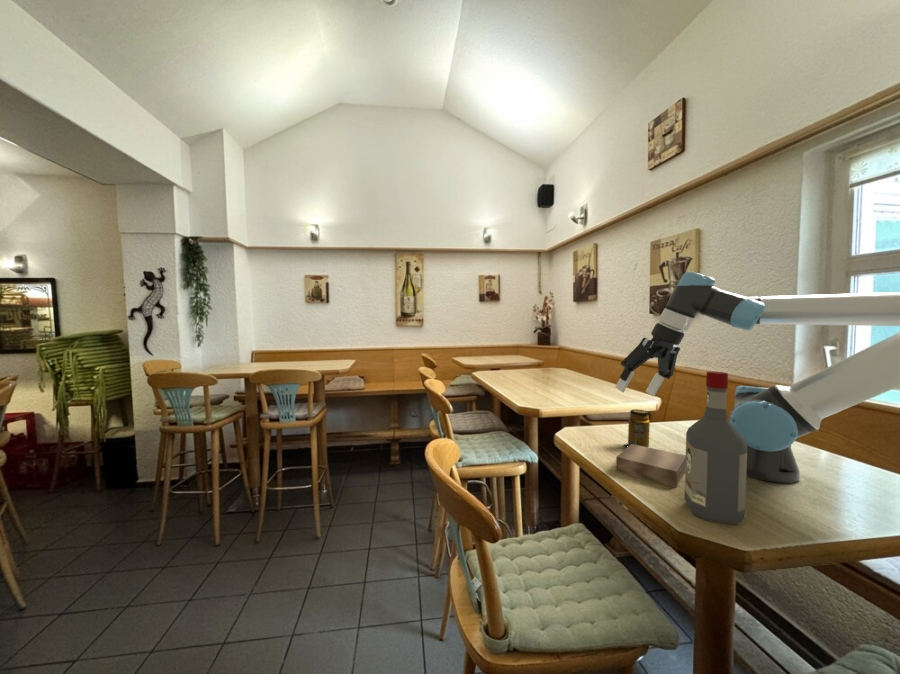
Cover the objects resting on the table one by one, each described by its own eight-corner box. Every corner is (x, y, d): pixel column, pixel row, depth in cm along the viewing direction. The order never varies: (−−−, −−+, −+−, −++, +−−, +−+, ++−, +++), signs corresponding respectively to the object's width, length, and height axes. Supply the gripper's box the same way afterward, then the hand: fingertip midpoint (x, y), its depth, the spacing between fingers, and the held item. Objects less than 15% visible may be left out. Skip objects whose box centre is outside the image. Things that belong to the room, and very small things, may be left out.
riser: (686, 470, 96) (686, 455, 96) (676, 487, 86) (676, 471, 86) (631, 456, 106) (631, 443, 106) (616, 471, 95) (616, 456, 95)
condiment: (653, 447, 114) (654, 411, 114) (644, 454, 108) (645, 415, 108) (629, 442, 119) (630, 407, 119) (620, 448, 114) (620, 411, 113)
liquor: (730, 505, 77) (734, 370, 76) (749, 528, 69) (754, 376, 68) (681, 498, 81) (685, 369, 79) (694, 519, 72) (698, 374, 71)
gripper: (685, 329, 106) (651, 389, 113) (630, 314, 95) (596, 381, 102) (709, 339, 100) (671, 402, 106) (653, 324, 89) (615, 395, 96)
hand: (634, 392), depth 104 cm, fingers open, 13 cm apart
